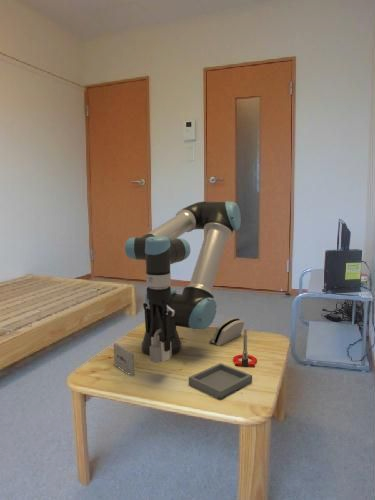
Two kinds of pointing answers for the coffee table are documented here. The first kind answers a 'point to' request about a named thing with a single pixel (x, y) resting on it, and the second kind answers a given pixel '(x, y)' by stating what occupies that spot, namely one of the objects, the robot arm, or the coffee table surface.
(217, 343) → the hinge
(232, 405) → the coffee table surface
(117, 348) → the cassette
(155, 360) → the padlock
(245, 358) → the tow hook
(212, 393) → the tray
